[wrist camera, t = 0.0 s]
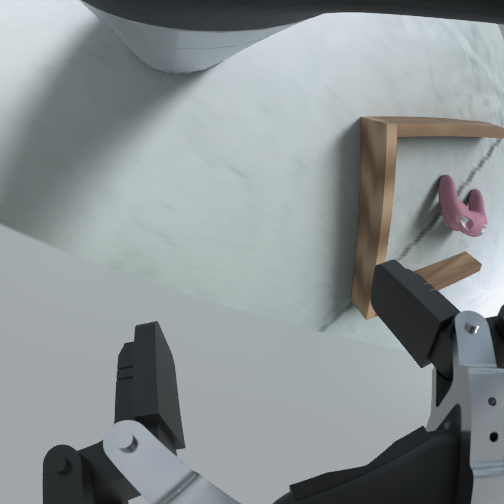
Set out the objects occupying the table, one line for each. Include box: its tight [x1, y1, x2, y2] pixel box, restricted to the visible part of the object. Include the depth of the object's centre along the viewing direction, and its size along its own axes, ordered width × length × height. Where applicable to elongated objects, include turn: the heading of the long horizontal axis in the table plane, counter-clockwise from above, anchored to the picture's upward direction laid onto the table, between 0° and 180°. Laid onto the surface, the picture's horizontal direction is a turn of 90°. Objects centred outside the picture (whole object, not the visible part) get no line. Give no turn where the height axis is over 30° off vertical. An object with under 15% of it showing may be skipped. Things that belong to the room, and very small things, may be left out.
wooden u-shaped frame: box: [351, 117, 504, 320], centre depth 31 cm, size 22×23×4 cm
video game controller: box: [438, 175, 488, 237], centre depth 32 cm, size 10×5×7 cm, turn 77°
